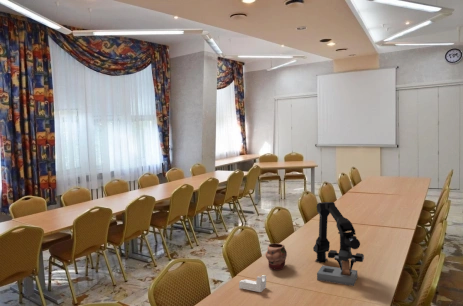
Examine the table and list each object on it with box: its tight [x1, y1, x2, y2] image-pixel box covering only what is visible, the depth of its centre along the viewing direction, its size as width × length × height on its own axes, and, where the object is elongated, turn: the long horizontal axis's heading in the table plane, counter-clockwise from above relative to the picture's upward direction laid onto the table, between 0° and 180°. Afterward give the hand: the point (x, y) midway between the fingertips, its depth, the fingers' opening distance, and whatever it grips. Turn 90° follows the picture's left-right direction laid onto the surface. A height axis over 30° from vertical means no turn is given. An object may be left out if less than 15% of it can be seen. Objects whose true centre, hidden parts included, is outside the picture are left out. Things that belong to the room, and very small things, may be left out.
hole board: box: [316, 265, 358, 287], centre depth 200 cm, size 12×20×4 cm, turn 61°
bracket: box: [238, 274, 267, 293], centre depth 194 cm, size 13×7×8 cm, turn 60°
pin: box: [342, 259, 351, 276], centre depth 197 cm, size 4×4×10 cm
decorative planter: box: [265, 242, 288, 271], centre depth 222 cm, size 20×12×14 cm, turn 150°
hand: (346, 270), depth 197 cm, fingers open, 5 cm apart
